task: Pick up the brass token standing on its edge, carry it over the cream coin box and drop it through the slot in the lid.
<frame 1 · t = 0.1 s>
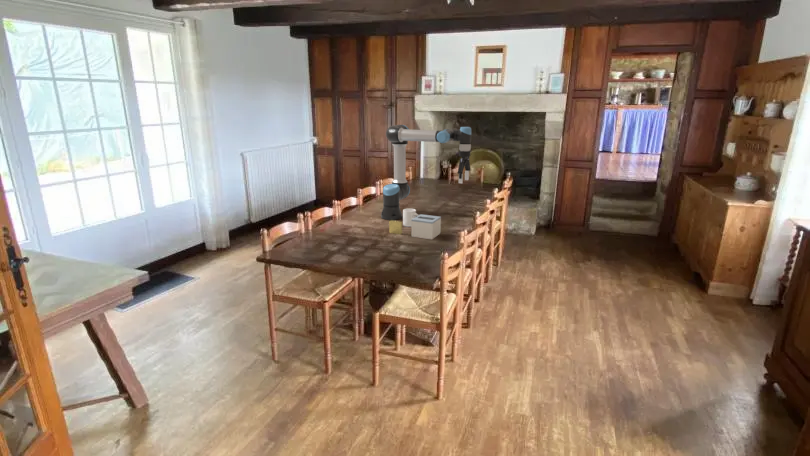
hand: (463, 181, 296), 28 cm above the table, fingers open, 13 cm apart
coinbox: (426, 234, 273), on the table
token: (395, 233, 276), on the table
mug: (411, 225, 293), on the table
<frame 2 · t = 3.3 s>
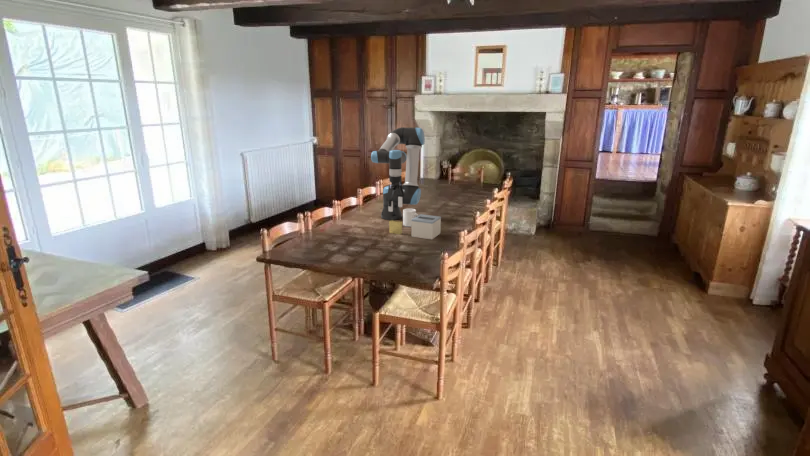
hand: (395, 209, 271), 16 cm above the table, fingers open, 13 cm apart
nothing on the table moved.
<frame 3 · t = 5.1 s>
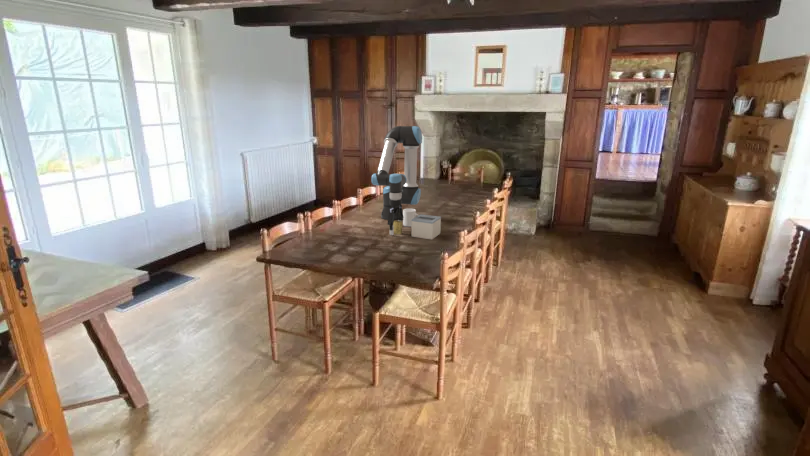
hand: (395, 232, 276), 0 cm above the table, fingers open, 11 cm apart
nothing on the table moved.
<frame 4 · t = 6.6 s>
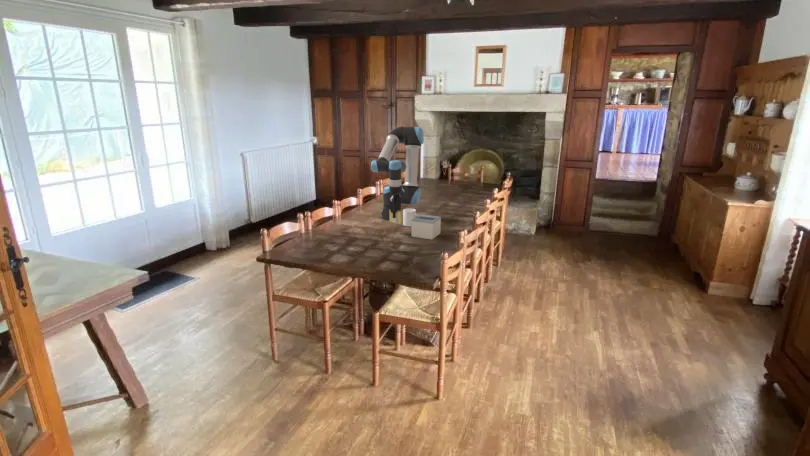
hand: (395, 221, 275), 7 cm above the table, fingers closed on token, 2 cm apart
token: (396, 222, 275), point 7 cm above the table, touching gripper
everything else where it was.
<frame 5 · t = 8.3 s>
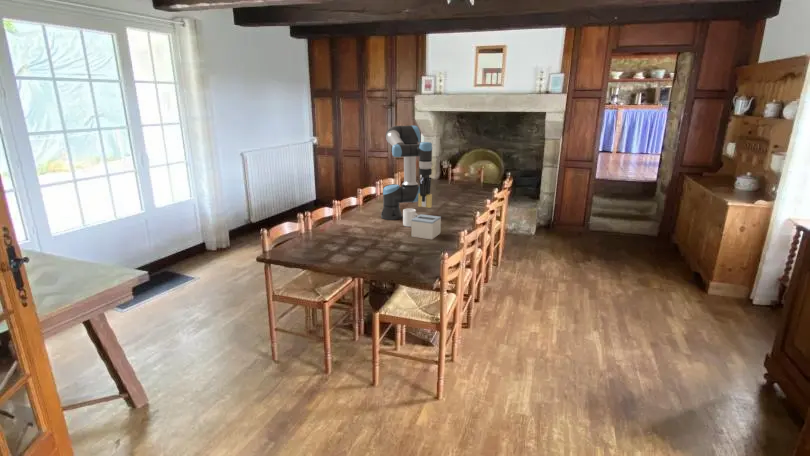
hand: (424, 205, 267), 19 cm above the table, fingers closed on token, 2 cm apart
token: (424, 206, 267), point 18 cm above the table, touching gripper
everything else where it was.
when the fingers open (12 cm above the table, at t = 10.0 s): token drops 10 cm and tips over, resting on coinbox.
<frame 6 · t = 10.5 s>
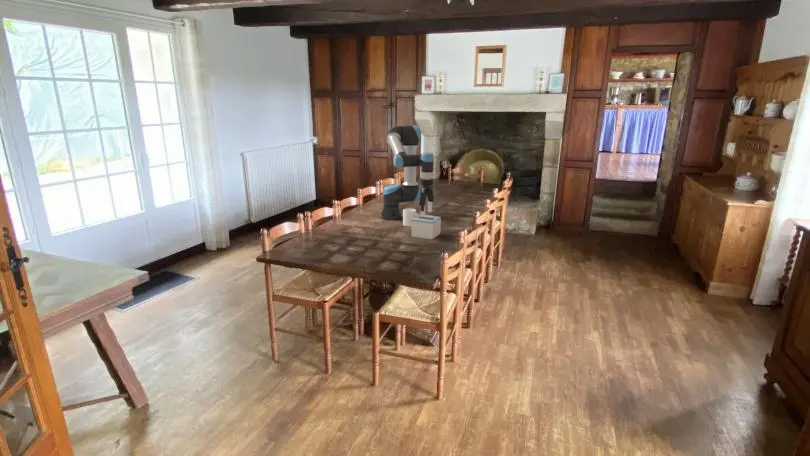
hand: (426, 213, 269), 14 cm above the table, fingers open, 10 cm apart
token: (425, 232, 272), point 2 cm above the table, tilted 37°, touching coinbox
everything else where it was.
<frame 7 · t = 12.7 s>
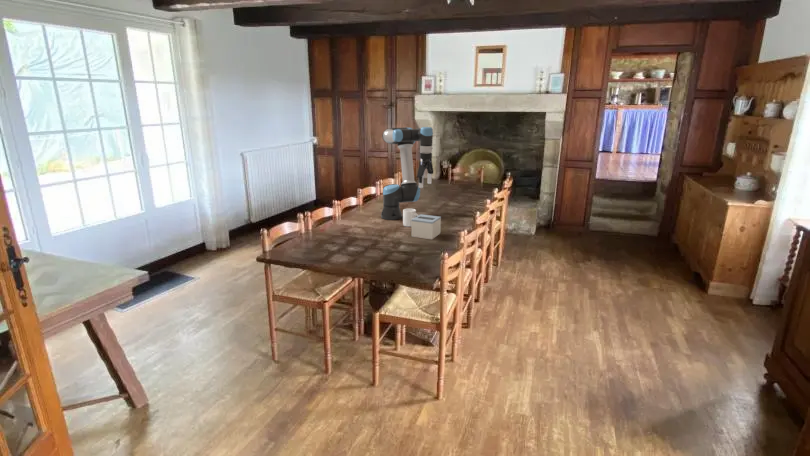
hand: (425, 185, 276), 29 cm above the table, fingers open, 13 cm apart
nothing on the table moved.
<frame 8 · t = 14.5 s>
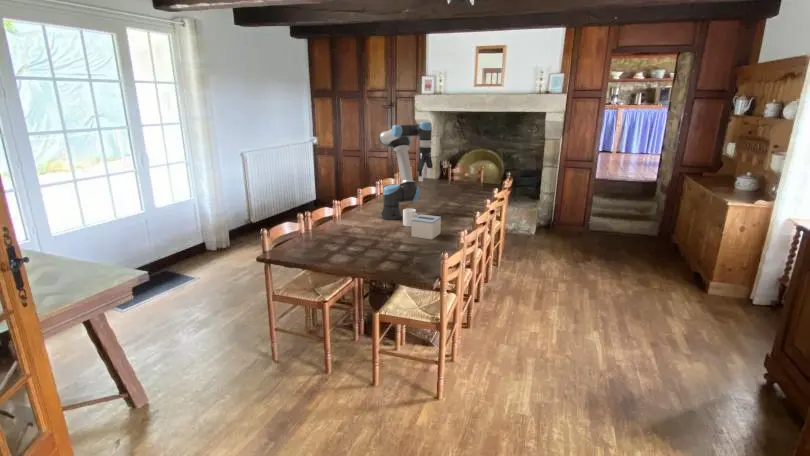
hand: (424, 179, 283), 32 cm above the table, fingers open, 13 cm apart
nothing on the table moved.
at the end: token inside the target area on the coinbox (0.3 cm from its centre), point 1.6 cm above the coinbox's base; the gripper is holding nothing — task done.
